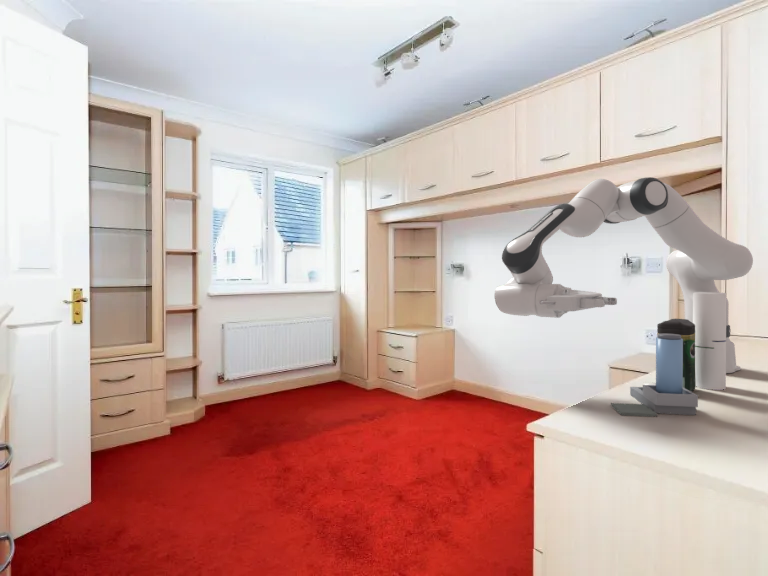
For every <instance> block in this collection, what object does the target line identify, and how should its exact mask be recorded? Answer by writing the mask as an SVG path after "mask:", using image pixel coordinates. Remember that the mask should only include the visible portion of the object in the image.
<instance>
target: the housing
mask: <svg viewBox="0 0 768 576" xmlns="http://www.w3.org/2000/svg"><path fill="white" fill-rule="evenodd" d="M629 390H630V391H629V392H630V393H629V395H630V396H632V398H634V399H636V400H637V401H638V402H639V403H640V404H644V405H646V406H647V407H648V408H650V409H651V410H652V411H654V412H655V413H656V414H663V413H665V414H667V415H691V416H696V414H697V408H698V407H699V395H698V394H696V393H694V391H692V392H691V391H689V390H687V389H685V388H683V394H670V393H658V392H656V385H643V384H642V386H630V387H629Z"/></svg>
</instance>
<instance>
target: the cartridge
mask: <svg viewBox="0 0 768 576" xmlns="http://www.w3.org/2000/svg"><path fill="white" fill-rule="evenodd" d="M655 383H656V392H658V393H670V394H683V339H681V335H678V334H658V337H657V336H656V337H655Z"/></svg>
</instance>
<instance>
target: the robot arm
mask: <svg viewBox="0 0 768 576" xmlns="http://www.w3.org/2000/svg"><path fill="white" fill-rule="evenodd" d="M642 217H645V218H646V220H647V222H648V223H649V224H650V226H651V227H652V228H653V229H654V231H655V232H656V234H658V236H659V237H660V238H661V239H662V241H663V242H664V243H665V244H666V245H667V246H668V247H670V248H672V249H675V250H673V251H672V252H671V253H669V254H668V256H667V259H666V269H667V271H668V273H669V274H670V275H671V276H672V277H673V278H674V279H675V280H676V281H677V284H678V285H679V287H680V290H681V294H682V296H683V297H682V298H683V302H684V319H687V320H689V321H690V322H692V323H693V293H702V292H708V293H721V292H720V291H719V290H718V288H717V286H716V284H715V281H729V280H732V279H733V280H734V279H737V278H741V277H744V276H746V275H747V274H748V273H749V272H750V271H751V269H752V268H753V264H754V263H753V262H754V259H753V257H754V256H753V255H752V253H751V251H750V250H749V248H748V247H746V246H744V245H743V244H742V245H741V244H739V243H735V242H733V241H731V240H729V239H727V238H726V237H723V236H722V235H720V234H719V233H717V232H716V231H714V230H713V229H712V228H710V227H709V226H708V225H706V224H705V223H704V221H703V220H702V219H701V218H700V217H699V216H698V215H697V214H696V212H695V211H694V210H693V208H692V207H691V206H690V205H689V204H688V202H687V201H686V199H685V198H684V197H683V196H682V195H681V194H680V193H679V192H678V191H677V190H676V189H674V188H673V187H672V186H671V185H669V184H668V183H666V182H663V181H661V180H660V179H659V178H656V177H653V176H651V177H642V178H638V179H636V180H632V181H629V182H625V183H623V184H621V185H619V186H616V184H614V183H613V182H612V181H610V180H608V179H605V178H597V179H594V180H592V181H591V182H589V183H588V184H587V185H586V186H584V187H583V188H582V189H580V191H578V192H577V193H576V195H575V196H574V197H573V198H572V199H571V200H570V201H569V202H568V203H560V204H558V205H556V206H554V207H553V208H551V209H550V210H549V211H548V212H546V213H545V214H544V215H542V216H541V217H540V218H539V219H538V220H537V221H535V222H534V223H533V225H531V226H530V227H528V229H526V230H525V231H524V232H523V233H521V234H520V235H518V236H517V237H515V238H513V239H512V240H510V241H509V242H508V243H507V244H506V245H505V247H504V248H503V251H502V254H501V259H502V262H503V264H504V266H506V268H507V270H508V271H510V274H511V275H512V277H511V279H510V280H508V281H507V282H506V283H504V284H503V285H499V286H496V288H495V291H494V301H495V304H496V305H495V306H497V308H498V309H499V311H500V312H501V313H503V314H507V315H513V316H518V317H519V316H520V317H521V316H522V317H529V316H537V317H540V318H556V319H557V318H558V319H559V318H561V317H563V315H565V314H567V313H568V312H578V311H583V310H589V309H594V308H604V307H605V306H615V305H617V304H618V298H616V297H609V296H603V295H602V293H600V292H596V291H595V292H594V291H586V290H577V289H572V288H571V287H566V286H564V285H562V284H561V283H553V281H554V277H553V274H552V271H551V269H550V267H549V264H548V263H547V261H546V260H545V257H544V255H543V252H542V251H543V250H542V249H543V245H544V244H545V243H546V242H547V241H548V240H549V239H550V238H551V237H553V235H554V234H555V233H558V231H559V230H560V231H561V232H563V233H564V234H566V235H567V236H571V237H574V238H585V237H589V236H591V235H593V234H594V233H595V232H596V231H598V229H599V228H600V227H601V225H602V224H605V223H606V224H610V225H611V224H612V225H613V224H619V223H622V222H630V221H634V220H635V221H636V220H637V219H638V218H639V219H640V218H642ZM730 337H731V325H730V324H729V300H728V298H727V297H726V374H731V373H735V372H737V371H741V366H739V365H737V360H736V357H737V356H736V347H735V345H736V344H735V343H734V342H733V341H732V340H731V339H730Z"/></svg>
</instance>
